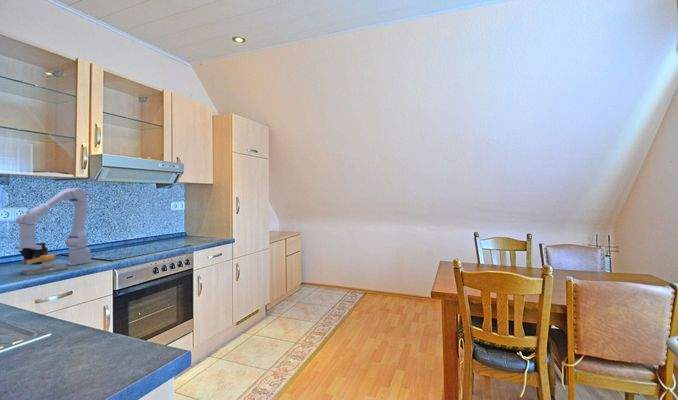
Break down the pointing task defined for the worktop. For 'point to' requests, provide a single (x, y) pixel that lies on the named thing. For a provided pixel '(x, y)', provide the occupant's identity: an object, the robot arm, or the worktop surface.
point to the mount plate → (44, 268)
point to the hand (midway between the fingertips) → (28, 263)
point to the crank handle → (39, 259)
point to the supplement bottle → (40, 252)
